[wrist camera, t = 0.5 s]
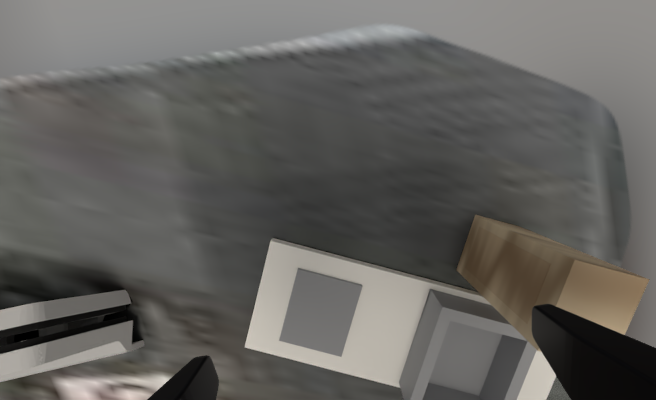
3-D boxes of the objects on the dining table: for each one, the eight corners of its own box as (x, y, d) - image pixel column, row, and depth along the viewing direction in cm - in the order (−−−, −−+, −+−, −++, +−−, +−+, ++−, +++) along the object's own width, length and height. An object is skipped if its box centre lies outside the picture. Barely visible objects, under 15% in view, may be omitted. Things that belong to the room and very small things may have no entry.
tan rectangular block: (498, 281, 24) (609, 369, 14) (456, 269, 24) (537, 350, 14) (519, 226, 24) (649, 279, 14) (475, 214, 24) (574, 259, 14)
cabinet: (530, 414, 26) (560, 456, 22) (247, 341, 26) (233, 371, 22) (571, 316, 25) (610, 344, 21) (272, 237, 24) (261, 252, 21)
